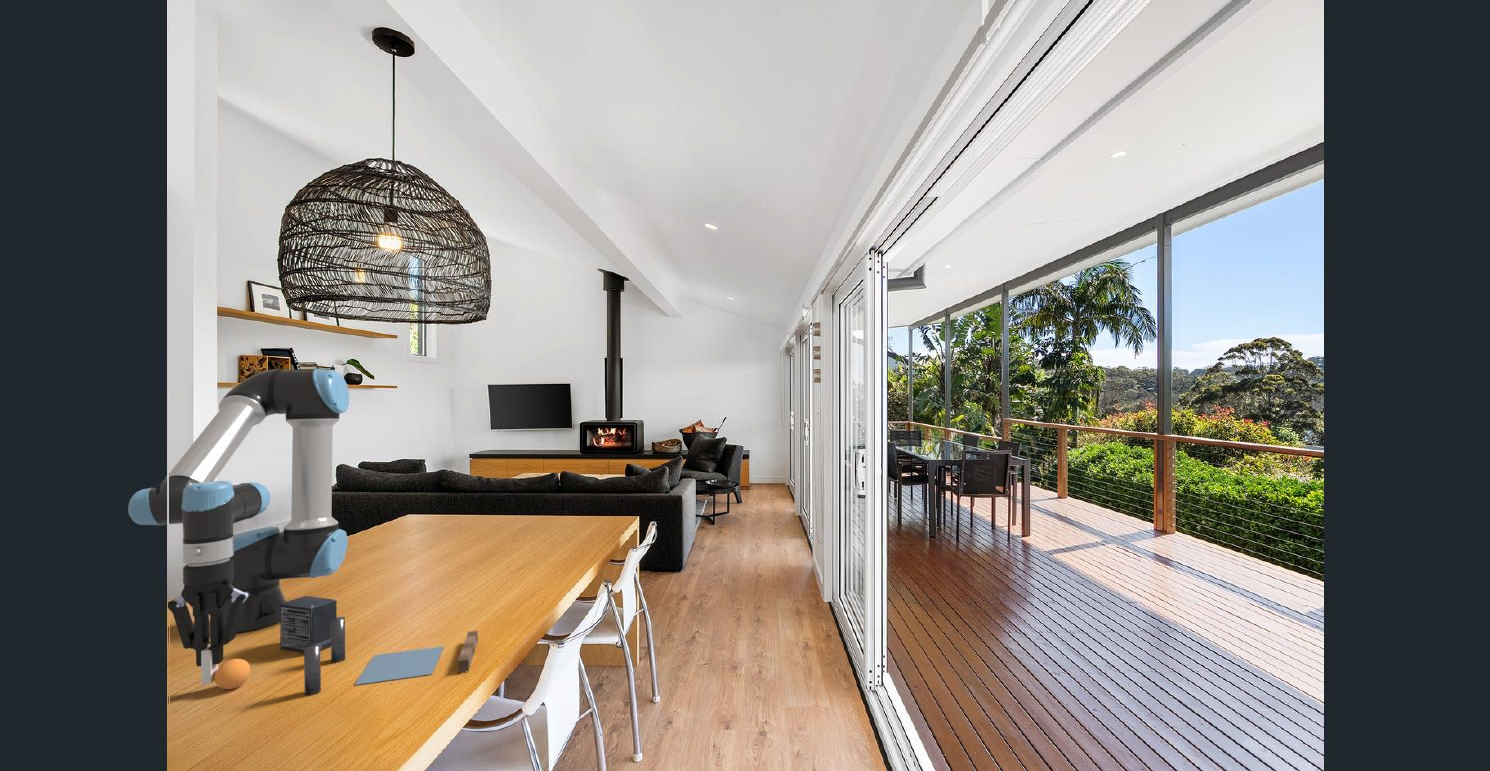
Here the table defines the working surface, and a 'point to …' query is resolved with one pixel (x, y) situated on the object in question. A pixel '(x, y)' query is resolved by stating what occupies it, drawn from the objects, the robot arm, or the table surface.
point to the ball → (232, 674)
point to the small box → (306, 622)
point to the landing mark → (400, 665)
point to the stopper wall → (467, 651)
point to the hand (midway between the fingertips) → (210, 680)
